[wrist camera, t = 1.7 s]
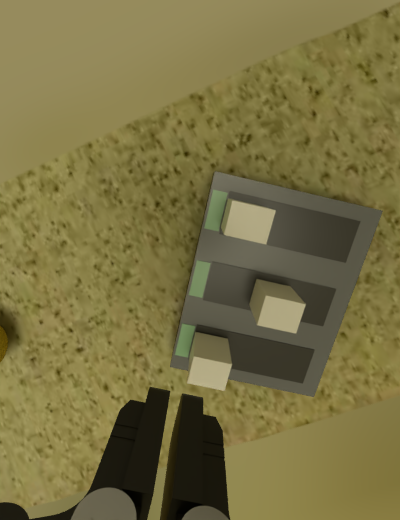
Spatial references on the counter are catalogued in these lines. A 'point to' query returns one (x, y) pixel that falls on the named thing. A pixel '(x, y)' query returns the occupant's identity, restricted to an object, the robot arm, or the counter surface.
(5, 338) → the lemon
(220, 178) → the breaker panel
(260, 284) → the block
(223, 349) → the block
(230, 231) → the block
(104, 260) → the counter surface
